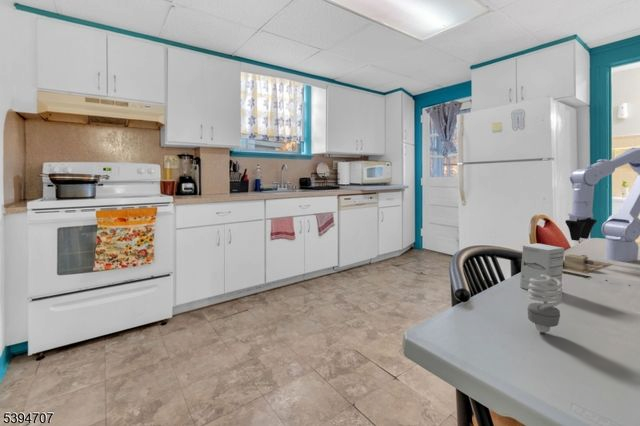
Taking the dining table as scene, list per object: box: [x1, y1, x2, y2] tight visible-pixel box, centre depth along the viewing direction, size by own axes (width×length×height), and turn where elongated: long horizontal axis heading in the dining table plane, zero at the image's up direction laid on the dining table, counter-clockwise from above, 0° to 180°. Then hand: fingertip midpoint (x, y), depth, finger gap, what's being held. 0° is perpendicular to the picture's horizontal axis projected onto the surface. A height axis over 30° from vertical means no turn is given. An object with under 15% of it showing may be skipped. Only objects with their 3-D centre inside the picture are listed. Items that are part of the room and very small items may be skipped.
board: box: [562, 254, 614, 279], centre depth 111 cm, size 22×9×3 cm, turn 121°
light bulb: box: [527, 275, 563, 334], centre depth 64 cm, size 6×6×12 cm
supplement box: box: [519, 242, 565, 292], centre depth 90 cm, size 7×7×13 cm
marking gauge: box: [564, 253, 594, 270], centre depth 107 cm, size 4×7×4 cm, turn 31°
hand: (579, 239), depth 117 cm, fingers open, 7 cm apart
